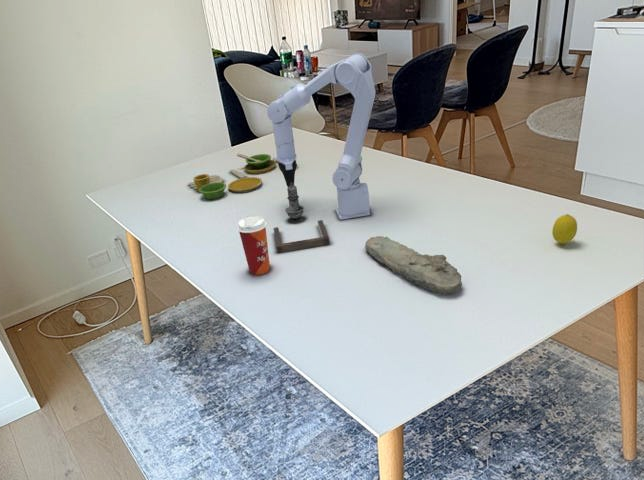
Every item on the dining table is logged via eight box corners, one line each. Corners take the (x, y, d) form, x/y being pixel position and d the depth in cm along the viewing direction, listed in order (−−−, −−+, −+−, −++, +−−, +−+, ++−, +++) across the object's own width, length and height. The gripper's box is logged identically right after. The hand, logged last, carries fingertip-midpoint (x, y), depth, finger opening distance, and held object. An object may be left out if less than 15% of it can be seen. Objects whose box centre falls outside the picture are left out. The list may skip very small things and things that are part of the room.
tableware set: (278, 158, 232) (276, 142, 228) (310, 174, 211) (308, 157, 207) (183, 185, 221) (179, 169, 217) (207, 205, 200) (203, 187, 196)
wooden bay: (323, 226, 172) (322, 219, 171) (329, 244, 161) (328, 238, 160) (274, 233, 172) (273, 227, 171) (277, 253, 161) (276, 246, 160)
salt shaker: (286, 217, 181) (280, 180, 174) (304, 214, 181) (299, 177, 174) (287, 225, 176) (282, 187, 169) (306, 221, 176) (301, 184, 169)
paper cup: (270, 276, 151) (261, 227, 142) (242, 277, 152) (232, 228, 144) (276, 262, 157) (268, 214, 148) (250, 263, 158) (240, 216, 150)
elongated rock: (386, 244, 159) (356, 257, 156) (384, 227, 156) (353, 240, 153) (475, 286, 132) (441, 302, 129) (474, 265, 129) (439, 282, 126)
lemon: (573, 239, 144) (579, 209, 140) (574, 249, 140) (580, 219, 136) (550, 239, 146) (554, 209, 142) (550, 248, 142) (555, 218, 137)
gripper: (270, 137, 178) (276, 179, 186) (273, 150, 166) (279, 195, 174) (292, 133, 178) (297, 176, 186) (296, 146, 166) (302, 191, 174)
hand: (290, 185), depth 180 cm, fingers closed
